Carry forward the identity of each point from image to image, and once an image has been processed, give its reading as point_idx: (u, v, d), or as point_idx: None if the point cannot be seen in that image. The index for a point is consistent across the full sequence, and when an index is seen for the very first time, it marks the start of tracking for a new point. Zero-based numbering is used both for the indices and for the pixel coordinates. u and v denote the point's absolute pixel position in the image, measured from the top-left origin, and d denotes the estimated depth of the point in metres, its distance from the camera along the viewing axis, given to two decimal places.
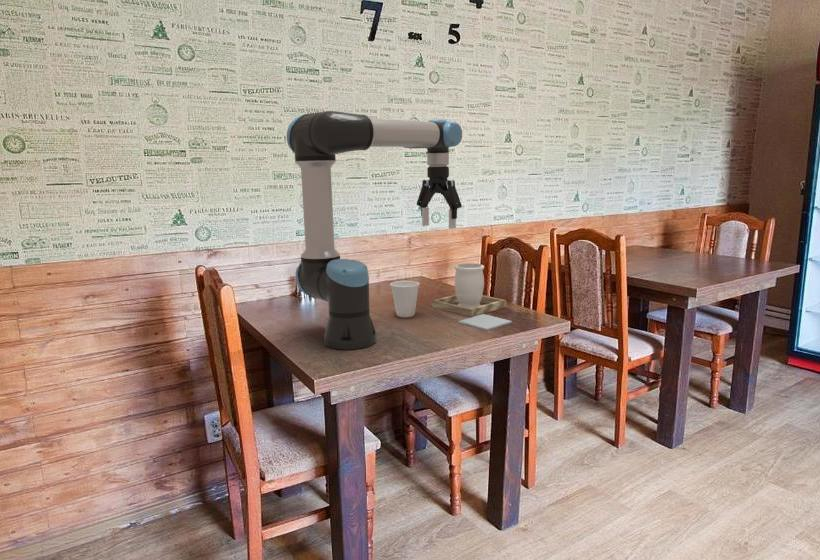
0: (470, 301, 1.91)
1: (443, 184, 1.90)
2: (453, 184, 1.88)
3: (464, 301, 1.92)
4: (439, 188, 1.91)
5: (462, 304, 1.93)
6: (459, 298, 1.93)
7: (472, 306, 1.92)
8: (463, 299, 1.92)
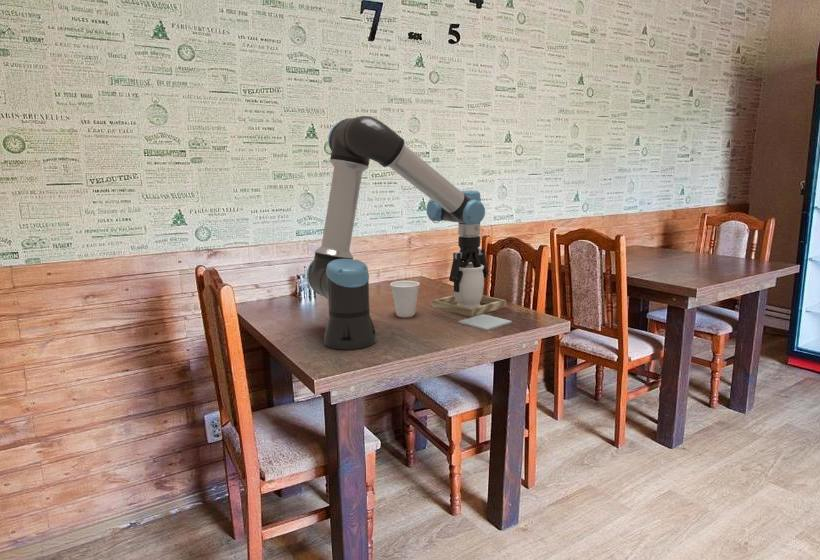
0: (470, 301, 1.91)
1: None
2: (456, 257, 1.88)
3: (464, 301, 1.92)
4: None
5: (462, 304, 1.93)
6: None
7: (472, 306, 1.92)
8: (463, 299, 1.92)
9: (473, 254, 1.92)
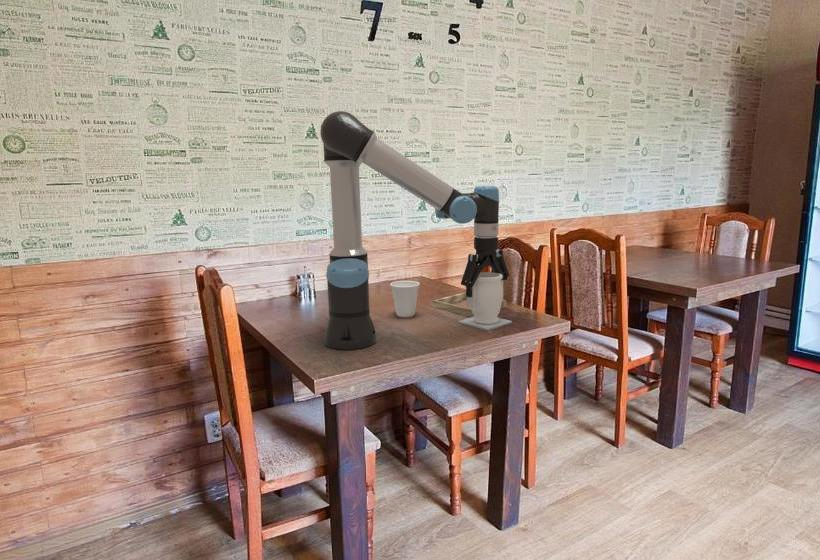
0: (487, 314, 1.72)
1: None
2: (472, 259, 1.67)
3: (481, 314, 1.72)
4: None
5: (478, 318, 1.74)
6: (475, 311, 1.73)
7: (489, 320, 1.73)
8: (480, 312, 1.72)
9: (490, 257, 1.72)
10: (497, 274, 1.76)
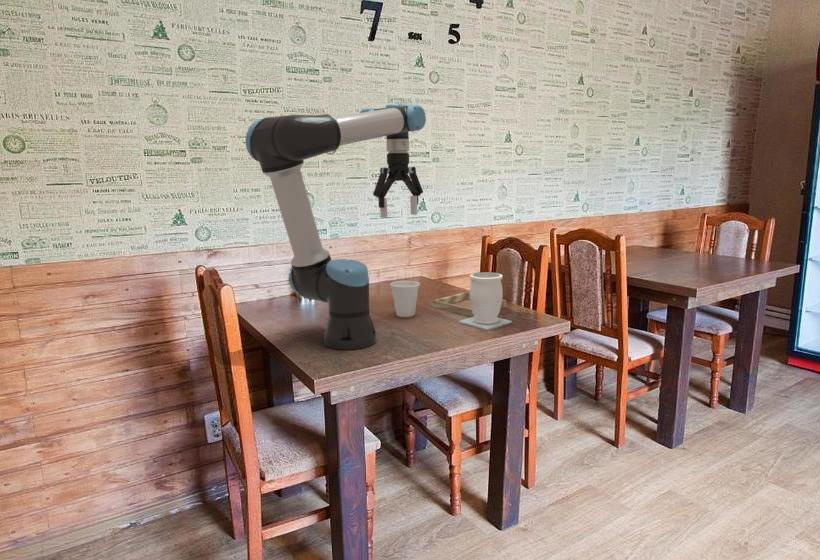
0: (487, 314, 1.72)
1: None
2: (383, 171, 1.82)
3: (481, 314, 1.72)
4: None
5: (478, 318, 1.74)
6: (475, 311, 1.73)
7: (490, 320, 1.73)
8: (480, 312, 1.72)
9: (402, 172, 1.86)
10: (497, 274, 1.76)
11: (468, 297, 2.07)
